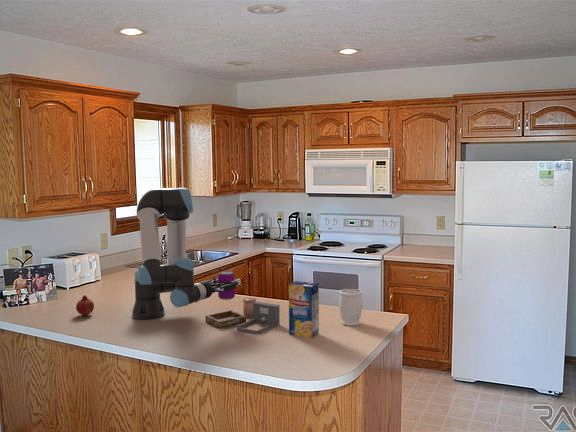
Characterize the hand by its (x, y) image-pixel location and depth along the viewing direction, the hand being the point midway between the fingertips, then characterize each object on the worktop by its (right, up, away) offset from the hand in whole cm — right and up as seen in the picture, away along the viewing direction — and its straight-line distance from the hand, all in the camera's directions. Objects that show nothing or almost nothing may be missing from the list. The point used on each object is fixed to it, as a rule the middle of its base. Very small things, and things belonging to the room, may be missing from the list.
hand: (232, 280), depth 250 cm
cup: (+7, -18, +8) cm, 21 cm away
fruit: (-73, -19, +11) cm, 76 cm away
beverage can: (-3, -8, -3) cm, 9 cm away
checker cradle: (+12, -20, -10) cm, 25 cm away
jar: (+54, -19, -5) cm, 58 cm away
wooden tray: (-3, -19, -2) cm, 19 cm away
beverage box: (+33, -21, -20) cm, 43 cm away
